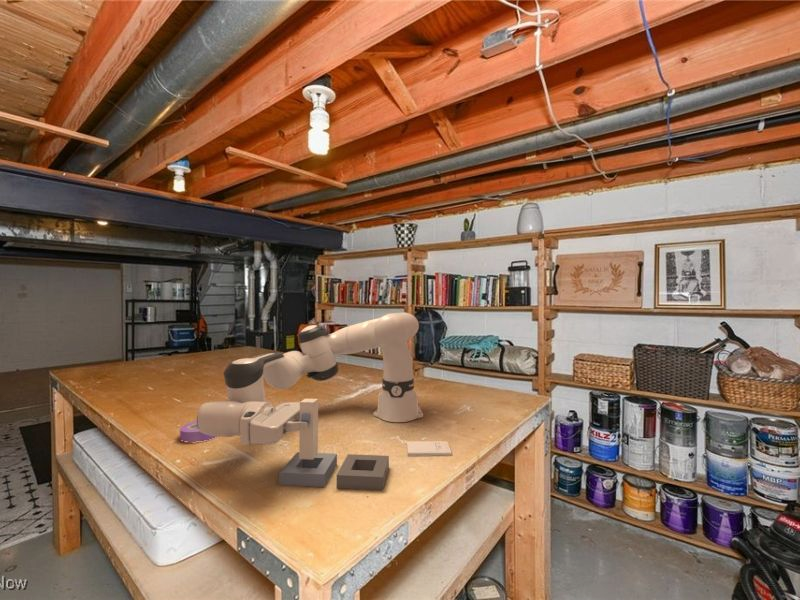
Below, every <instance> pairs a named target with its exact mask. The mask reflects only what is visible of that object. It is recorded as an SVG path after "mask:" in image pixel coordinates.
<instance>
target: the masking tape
mask: <svg viewBox="0 0 800 600" xmlns="http://www.w3.org/2000/svg"><path fill="white" fill-rule="evenodd" d="M179 435H180V436H179V437H180V439H181V440H183V441H188V442H196V441H204V440H209V439H212V438H215V437H217V436H211V435H206V434H203V433H201V432H200V431H199V429H198V425H197V420H194V421H190V422H188V423H186V424H183V425H181V426H180V428H179ZM217 438H218V437H217ZM180 439H179V440H180ZM215 439H216V438H215ZM181 440H180V441H181ZM212 440H213V439H212ZM209 441H210V440H209Z"/></svg>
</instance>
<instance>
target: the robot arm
mask: <svg viewBox="0 0 800 600" xmlns="http://www.w3.org/2000/svg"><path fill="white" fill-rule="evenodd" d="M419 326H420V325H419V320H418V319H417V318H416V316H414V314H411V313H409V312H404V311H403V312H393V313H387V314H384V315H383V316H381V317H378V318H374V319H370V320H366V321H362V322H359V323H356V324H355V323H354V324H351V325H348V326H344V327H343V328H339V329H337V330H335V331H334V332H332V333H329V332H331V330H330V328H325V327H324V326H322V325H319V324H316V325H315V324H313V325H311V324H310V325H307V326H306V327H304V328H302V330H301V331H299V332H298V334H297V339H298V343H299V346H300V349H301V351H298V350H291V351H290V350H289V351H287V352H284V353H282V352H277V351H272V352H271V351H270V352H265V353H261V354H258V355H253V356H251V357H247V358H240V359H236V360H233V361H231V362H229V364H228V365H227V366H226V368H225V369H224V370H223V378H224V383H225V386H226V394H227V395H226V396H227V400H219V401H209V402H205V403H203V404H201V405H200V407H199V408H198V411H197V415H196V421H197V425H198V429H199V431H200V432H201V433H203V434H206V435H211V436H218V437H220V438H221V437H223V438H232V437H235V436H237V437H238V436H239V437H240V445H241V446H250V445H252V444H253V445H271V444H276V443H278V442H279V441H280V440H281V439H282V438H284V436H285V435H286V434H288V433H292V432H296V431H300V430H306V429H307V428H308V427H309V422H308V421H303V420H302V421H301V422H300V402H301V401H294V402H293V401H292V402H291V401H290V402H288V401H287V402H282V403H280V404H278V405H276V406H273V405H272V403H271V402H269V401H266V400H267V399H266V393H265V392H266V390H265V382H266V383H267V384H268V385H269V387H271V388H273V389H275V390H287V389H290V388H291V387H293V386H294V385H296V383H297V382H298V381H299V380H300V379H301V378H302V376H303V375H305V374H306V377H307V378H308V379H312V380H314V381H317V382H323V381H324V382H325V381H328V380H330V379H333V377H335V376H336V375H337V374H338V372H339V364H338V362H337V360H336V355H352V354H356V353H360V352H365V351H368V350H373V349H378V348H380V351H381V354H382V363H383V368H382V370H383V373H382V374H383V375H382V376H383V377H382V381H381V389H382V390H381V391H380V392H379V393H378V398H377V399H378V400H377V409H376V410H374V412H373V414H372V415H373V417H375V418H376V417H377V418H379V419H381V420H382V421H384V422H390V423H406V422H407V423H408V422H411V421H413V420H416V419H421V418H424V413H423V411H422V409H421V407H420V404H419V401H418V400H419V399H418V397H419V395H418V394H417V392H416V391H415V390H414V388H415V380H414V374H413V366H414V365H413V364H414V363H413V360H414V359H413V356H412V355H411V352H410V347H409V341H408V340H411V339H412V338H413V337H414V336H416V334H417V333H418V330H419V329H420V328H419Z"/></svg>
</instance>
